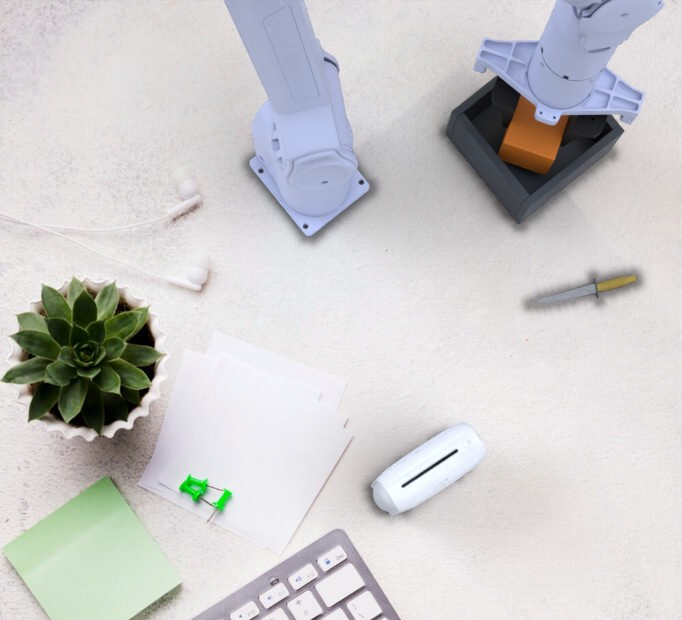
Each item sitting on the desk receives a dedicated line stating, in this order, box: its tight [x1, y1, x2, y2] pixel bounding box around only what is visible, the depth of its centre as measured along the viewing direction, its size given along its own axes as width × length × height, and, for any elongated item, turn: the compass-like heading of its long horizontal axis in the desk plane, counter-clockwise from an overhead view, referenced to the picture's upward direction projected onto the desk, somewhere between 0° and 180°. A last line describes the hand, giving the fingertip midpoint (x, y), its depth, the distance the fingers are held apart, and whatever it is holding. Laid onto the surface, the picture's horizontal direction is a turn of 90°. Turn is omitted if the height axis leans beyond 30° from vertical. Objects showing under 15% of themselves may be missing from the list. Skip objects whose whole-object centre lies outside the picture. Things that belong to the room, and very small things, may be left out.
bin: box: [445, 74, 625, 225], centre depth 82 cm, size 12×12×5 cm
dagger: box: [537, 274, 638, 304], centre depth 84 cm, size 11×1×2 cm
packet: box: [498, 95, 570, 175], centre depth 81 cm, size 5×7×4 cm
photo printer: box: [370, 421, 487, 516], centre depth 78 cm, size 10×4×12 cm, turn 123°
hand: (535, 126), depth 81 cm, fingers closed on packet, 5 cm apart
